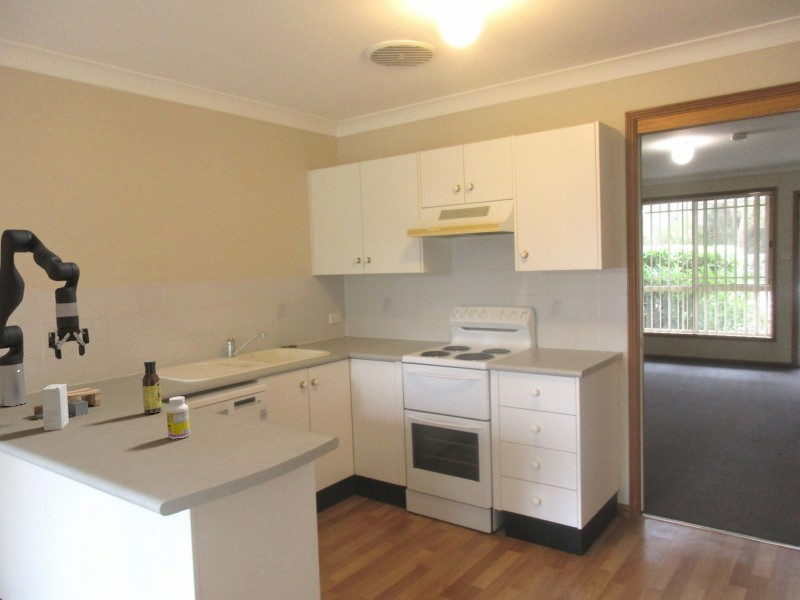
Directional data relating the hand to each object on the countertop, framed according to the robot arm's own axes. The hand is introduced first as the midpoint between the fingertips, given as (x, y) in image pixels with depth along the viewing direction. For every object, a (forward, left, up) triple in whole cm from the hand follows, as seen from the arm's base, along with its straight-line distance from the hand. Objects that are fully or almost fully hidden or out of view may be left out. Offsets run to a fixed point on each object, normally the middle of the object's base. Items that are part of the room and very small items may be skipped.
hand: (70, 357), depth 225 cm
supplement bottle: (+64, -2, -22) cm, 68 cm away
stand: (-10, +8, -22) cm, 26 cm away
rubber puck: (-8, -9, -23) cm, 26 cm away
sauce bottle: (+27, +15, -22) cm, 38 cm away
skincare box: (+12, -13, -22) cm, 29 cm away
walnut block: (-11, -6, -22) cm, 26 cm away
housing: (0, +1, -22) cm, 23 cm away
